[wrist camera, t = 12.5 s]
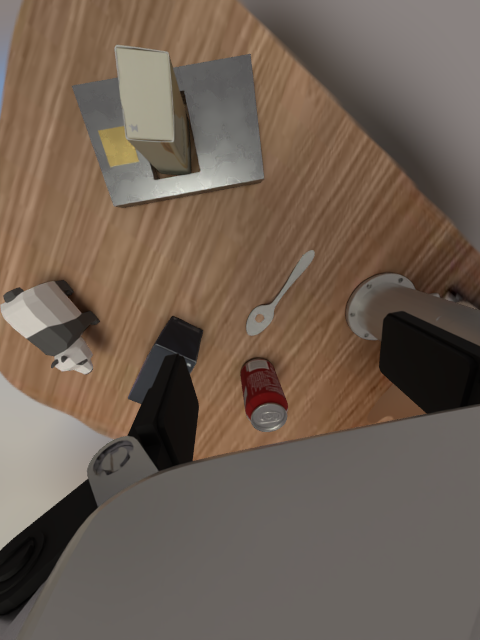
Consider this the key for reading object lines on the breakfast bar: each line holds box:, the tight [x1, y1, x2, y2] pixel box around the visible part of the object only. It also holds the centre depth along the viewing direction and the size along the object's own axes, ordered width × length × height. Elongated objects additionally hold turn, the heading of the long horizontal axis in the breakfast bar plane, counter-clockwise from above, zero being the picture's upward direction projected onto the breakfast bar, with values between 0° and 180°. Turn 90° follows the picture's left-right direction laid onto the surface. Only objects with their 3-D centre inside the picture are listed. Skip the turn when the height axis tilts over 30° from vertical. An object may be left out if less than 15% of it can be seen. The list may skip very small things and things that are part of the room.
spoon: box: [246, 250, 314, 335], centre depth 38 cm, size 4×21×2 cm, turn 144°
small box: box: [128, 316, 203, 404], centre depth 36 cm, size 11×6×10 cm, turn 150°
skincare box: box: [115, 45, 191, 175], centre depth 24 cm, size 6×4×12 cm
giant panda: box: [1, 280, 100, 374], centre depth 33 cm, size 15×6×10 cm, turn 27°
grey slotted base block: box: [72, 54, 264, 208], centre depth 28 cm, size 20×12×3 cm, turn 100°
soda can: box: [241, 359, 288, 432], centre depth 39 cm, size 7×7×12 cm
